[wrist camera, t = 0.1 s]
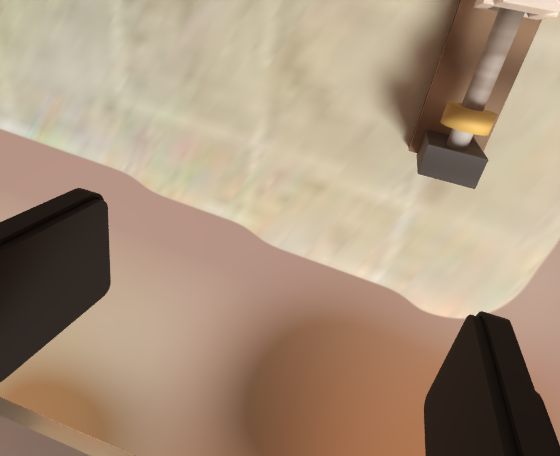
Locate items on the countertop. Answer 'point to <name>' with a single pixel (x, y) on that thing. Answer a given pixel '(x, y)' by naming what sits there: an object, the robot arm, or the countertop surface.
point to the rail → (466, 65)
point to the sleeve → (523, 7)
